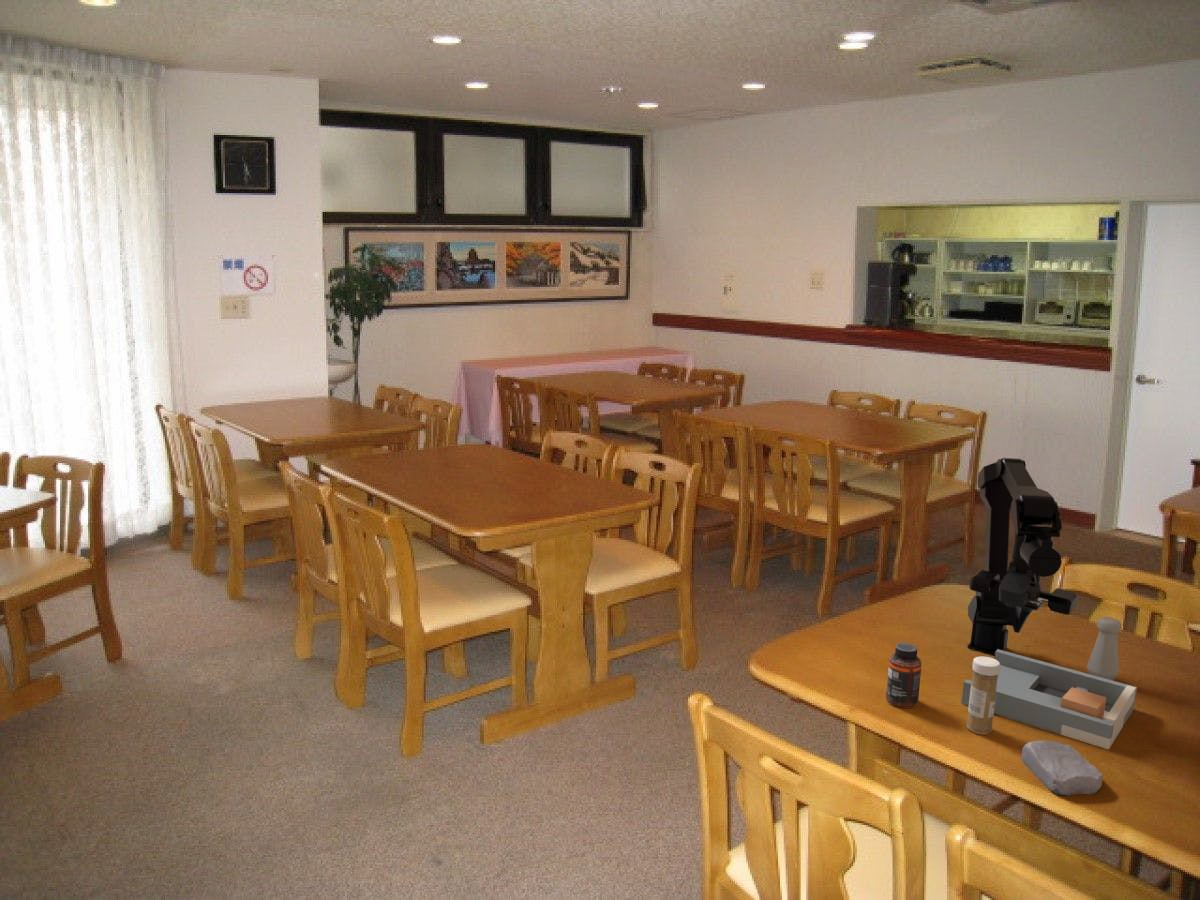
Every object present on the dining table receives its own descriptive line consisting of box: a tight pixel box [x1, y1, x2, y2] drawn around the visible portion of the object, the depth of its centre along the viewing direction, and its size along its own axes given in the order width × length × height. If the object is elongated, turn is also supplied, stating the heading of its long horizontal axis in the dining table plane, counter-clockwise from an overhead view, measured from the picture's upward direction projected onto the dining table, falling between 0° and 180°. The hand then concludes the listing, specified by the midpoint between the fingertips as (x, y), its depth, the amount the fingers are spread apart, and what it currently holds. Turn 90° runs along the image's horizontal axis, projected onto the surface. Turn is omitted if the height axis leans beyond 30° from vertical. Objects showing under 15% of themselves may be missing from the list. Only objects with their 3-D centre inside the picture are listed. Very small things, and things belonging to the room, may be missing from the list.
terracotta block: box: [1061, 687, 1107, 719], centre depth 185 cm, size 6×6×4 cm
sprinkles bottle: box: [965, 655, 1000, 735], centre depth 183 cm, size 5×5×14 cm
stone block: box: [1021, 740, 1103, 797], centre depth 169 cm, size 12×5×10 cm
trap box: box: [960, 649, 1138, 750], centre depth 193 cm, size 26×20×5 cm
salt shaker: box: [1086, 616, 1122, 681], centre depth 205 cm, size 6×6×13 cm
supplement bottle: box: [885, 642, 922, 709], centre depth 193 cm, size 6×6×11 cm
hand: (1017, 632), depth 199 cm, fingers closed
